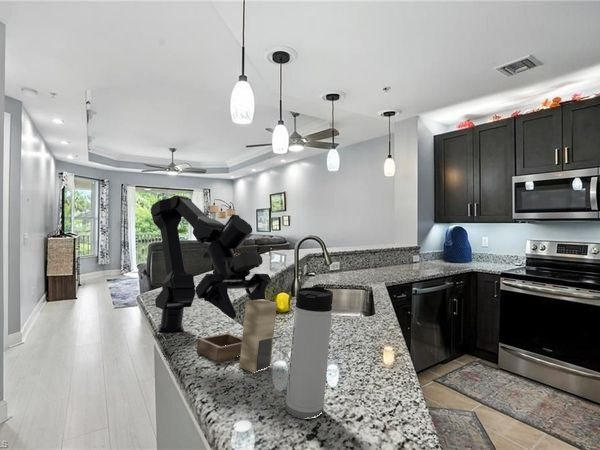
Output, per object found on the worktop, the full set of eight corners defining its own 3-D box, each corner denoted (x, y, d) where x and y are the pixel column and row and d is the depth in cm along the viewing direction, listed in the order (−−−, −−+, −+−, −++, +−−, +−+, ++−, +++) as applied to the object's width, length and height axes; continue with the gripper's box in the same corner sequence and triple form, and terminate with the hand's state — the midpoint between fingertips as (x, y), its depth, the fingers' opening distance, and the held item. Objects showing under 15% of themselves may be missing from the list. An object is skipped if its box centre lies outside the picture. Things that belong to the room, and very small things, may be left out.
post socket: (196, 351, 75) (198, 338, 75) (227, 344, 82) (228, 333, 82) (218, 362, 70) (219, 348, 70) (249, 354, 77) (250, 341, 77)
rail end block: (239, 366, 68) (246, 300, 69) (256, 361, 72) (262, 299, 73) (254, 374, 65) (261, 304, 66) (271, 368, 69) (278, 303, 70)
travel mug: (327, 405, 55) (337, 288, 56) (317, 424, 49) (328, 292, 50) (293, 396, 57) (304, 284, 59) (279, 413, 51) (291, 287, 52)
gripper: (209, 236, 69) (237, 296, 61) (269, 242, 83) (298, 291, 76) (185, 269, 73) (208, 328, 66) (246, 269, 88) (271, 318, 80)
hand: (250, 315), depth 72 cm, fingers open, 9 cm apart
